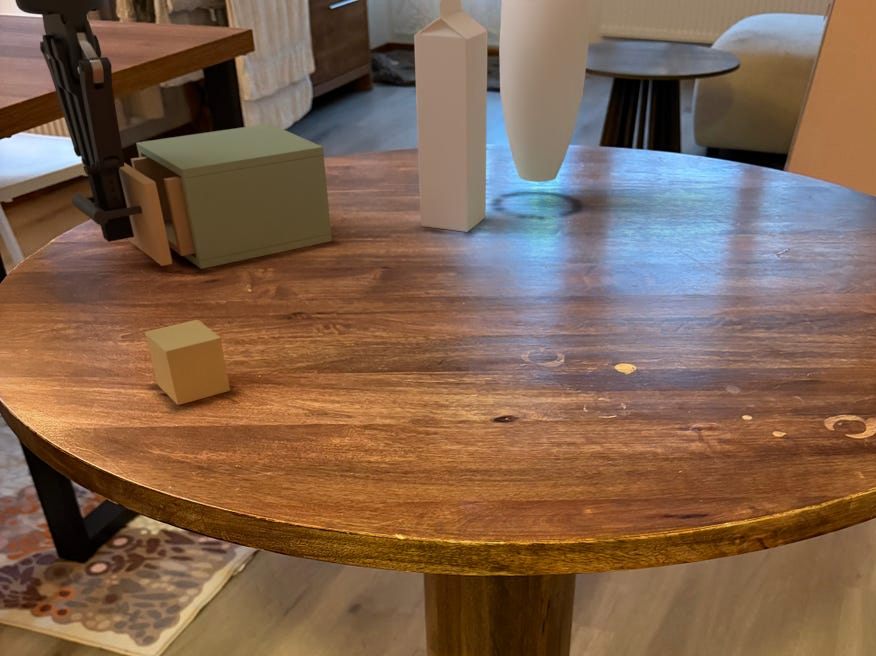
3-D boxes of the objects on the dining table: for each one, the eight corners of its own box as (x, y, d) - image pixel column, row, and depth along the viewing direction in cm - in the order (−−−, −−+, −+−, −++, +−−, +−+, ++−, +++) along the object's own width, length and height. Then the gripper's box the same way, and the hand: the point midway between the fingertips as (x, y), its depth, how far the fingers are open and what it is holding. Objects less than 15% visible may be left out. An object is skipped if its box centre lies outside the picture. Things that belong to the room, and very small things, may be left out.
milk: (485, 218, 109) (490, -6, 95) (467, 233, 105) (468, 1, 91) (439, 211, 111) (436, -10, 96) (418, 226, 107) (412, -3, 92)
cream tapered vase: (533, 185, 120) (542, -16, 106) (595, 202, 114) (613, -8, 100) (477, 201, 114) (479, -9, 100) (539, 220, 109) (550, 1, 94)
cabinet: (201, 269, 96) (182, 169, 89) (156, 236, 103) (135, 142, 97) (332, 241, 103) (323, 146, 96) (281, 212, 110) (269, 123, 104)
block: (177, 405, 73) (165, 351, 70) (157, 384, 75) (144, 331, 73) (230, 390, 75) (220, 337, 72) (208, 371, 77) (197, 318, 75)
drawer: (114, 276, 92) (93, 192, 86) (78, 244, 98) (56, 165, 93) (289, 239, 100) (279, 161, 95) (244, 213, 107) (233, 139, 102)
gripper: (118, -41, 77) (177, 247, 93) (69, -53, 85) (131, 215, 101) (26, -36, 74) (104, 262, 90) (-15, -49, 82) (63, 227, 97)
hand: (118, 237), depth 95 cm, fingers closed
